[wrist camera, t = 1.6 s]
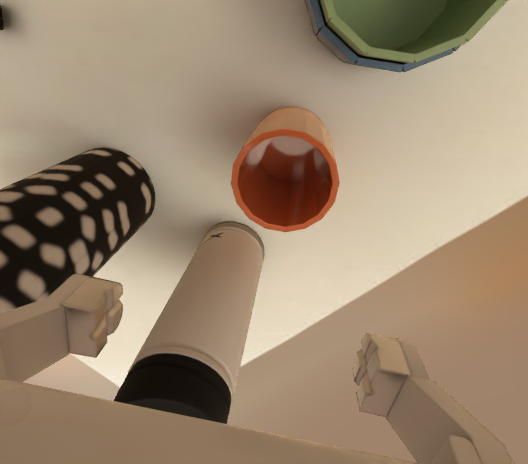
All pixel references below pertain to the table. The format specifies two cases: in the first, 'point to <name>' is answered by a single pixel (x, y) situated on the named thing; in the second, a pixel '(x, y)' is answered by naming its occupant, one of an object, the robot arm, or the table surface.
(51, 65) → the table surface
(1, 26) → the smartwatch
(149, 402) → the travel mug
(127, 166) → the spotted tube
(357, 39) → the cup stack
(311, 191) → the terracotta cup
